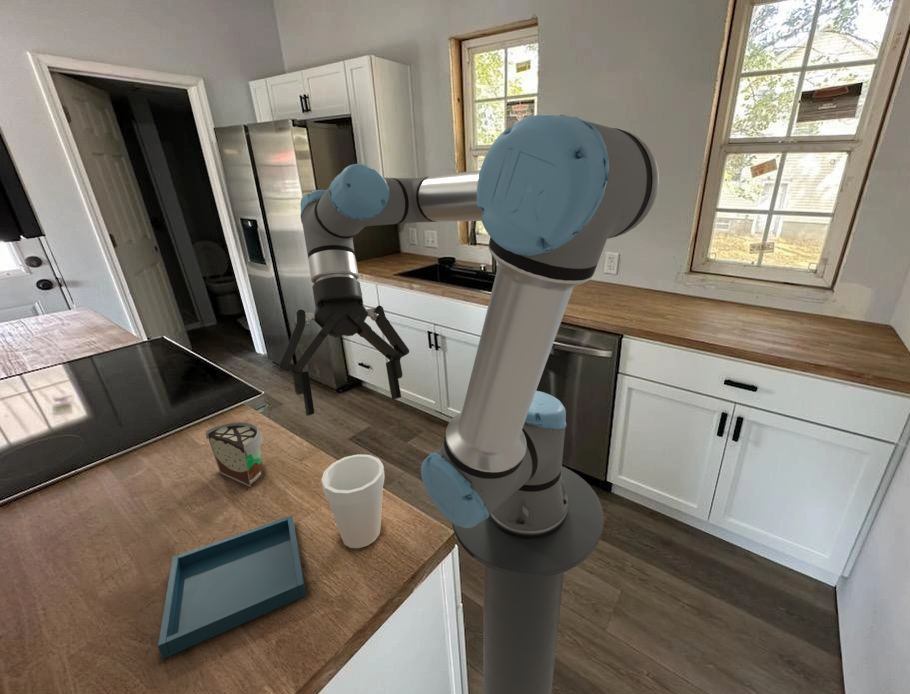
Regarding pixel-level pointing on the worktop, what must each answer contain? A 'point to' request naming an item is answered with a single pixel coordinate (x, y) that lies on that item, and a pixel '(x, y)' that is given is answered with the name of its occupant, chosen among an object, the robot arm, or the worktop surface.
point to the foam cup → (355, 497)
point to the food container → (237, 451)
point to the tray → (230, 584)
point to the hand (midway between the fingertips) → (356, 406)
